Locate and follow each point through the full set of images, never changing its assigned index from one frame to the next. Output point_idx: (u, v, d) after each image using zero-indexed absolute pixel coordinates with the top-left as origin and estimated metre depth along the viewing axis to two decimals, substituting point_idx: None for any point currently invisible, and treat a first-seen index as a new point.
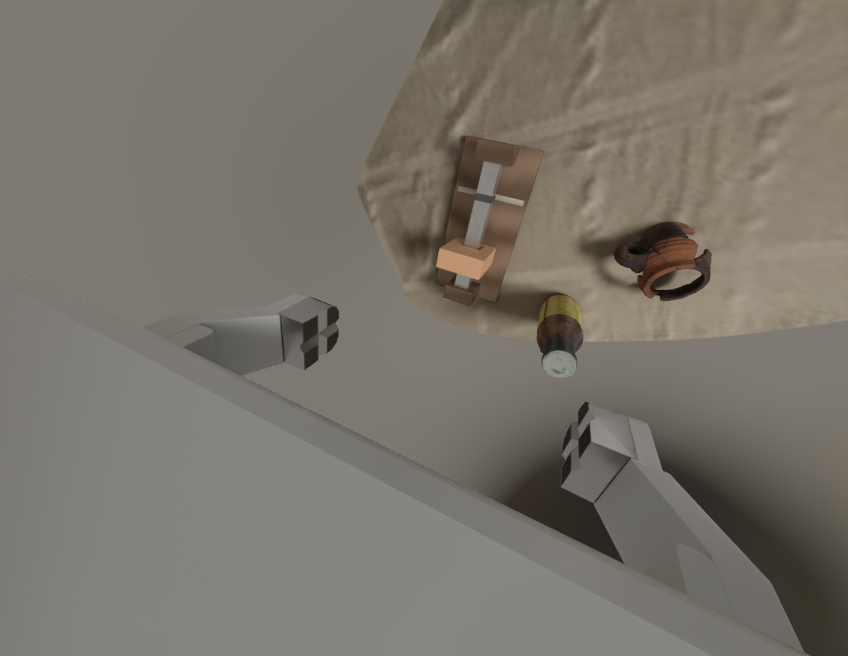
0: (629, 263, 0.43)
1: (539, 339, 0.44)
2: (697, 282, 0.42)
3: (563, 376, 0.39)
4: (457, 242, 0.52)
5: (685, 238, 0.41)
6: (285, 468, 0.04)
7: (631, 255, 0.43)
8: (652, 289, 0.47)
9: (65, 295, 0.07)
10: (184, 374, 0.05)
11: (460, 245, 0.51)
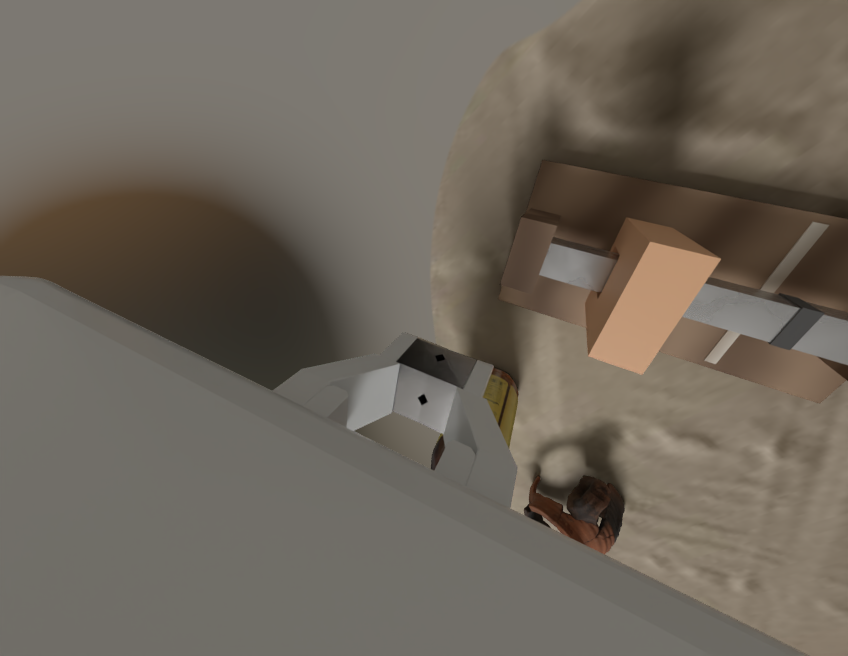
0: (585, 511, 0.31)
1: None
2: None
3: None
4: None
5: None
6: (285, 468, 0.04)
7: (598, 515, 0.30)
8: None
9: (66, 295, 0.07)
10: (185, 374, 0.05)
11: None
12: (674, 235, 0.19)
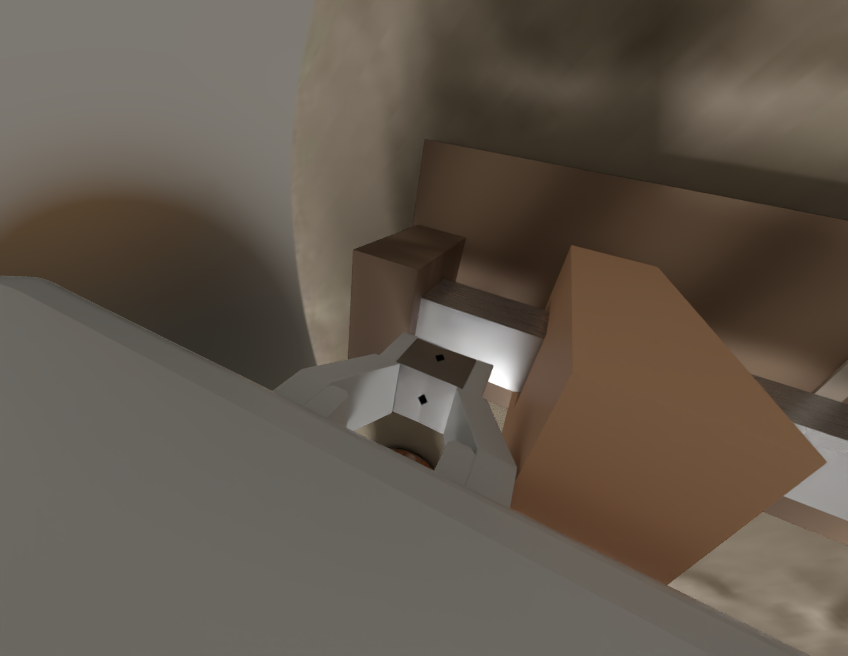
0: None
1: None
2: None
3: None
4: None
5: None
6: (285, 468, 0.04)
7: None
8: None
9: (66, 295, 0.07)
10: (184, 374, 0.05)
11: None
12: (659, 301, 0.08)
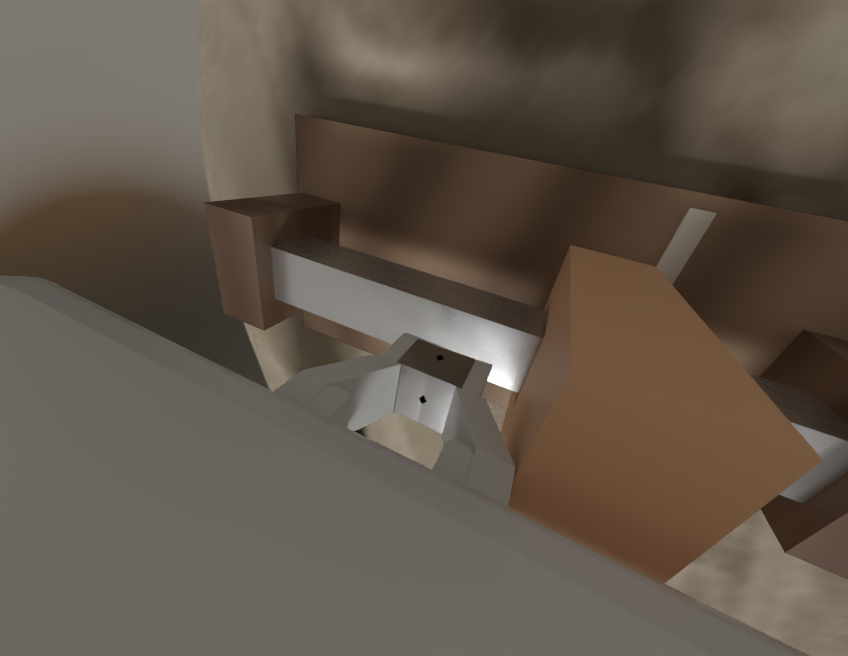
0: None
1: None
2: None
3: None
4: None
5: None
6: (285, 468, 0.04)
7: None
8: None
9: (66, 295, 0.07)
10: (184, 374, 0.05)
11: None
12: (657, 301, 0.08)
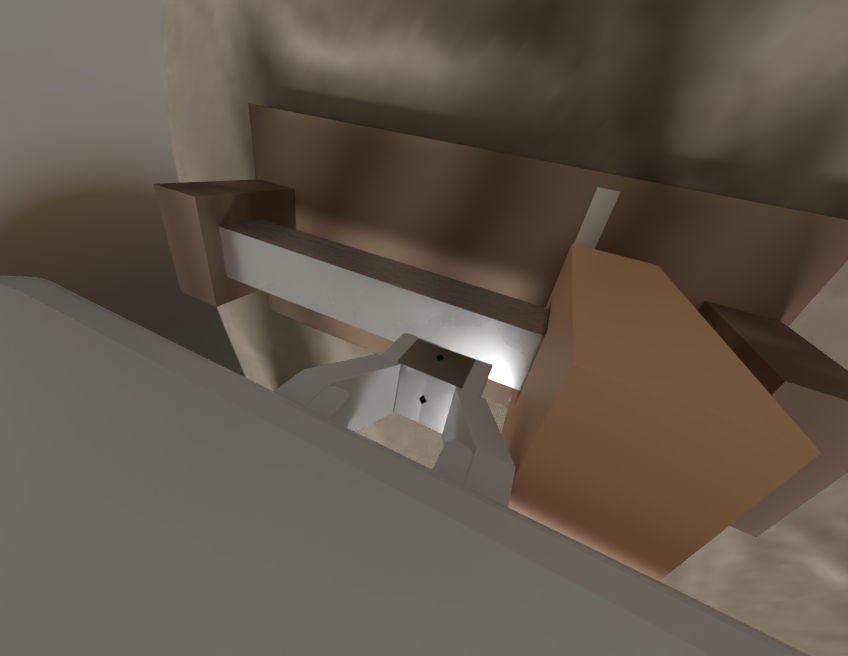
0: None
1: None
2: None
3: None
4: None
5: None
6: (285, 468, 0.04)
7: None
8: None
9: (66, 295, 0.07)
10: (184, 374, 0.05)
11: None
12: (658, 298, 0.08)
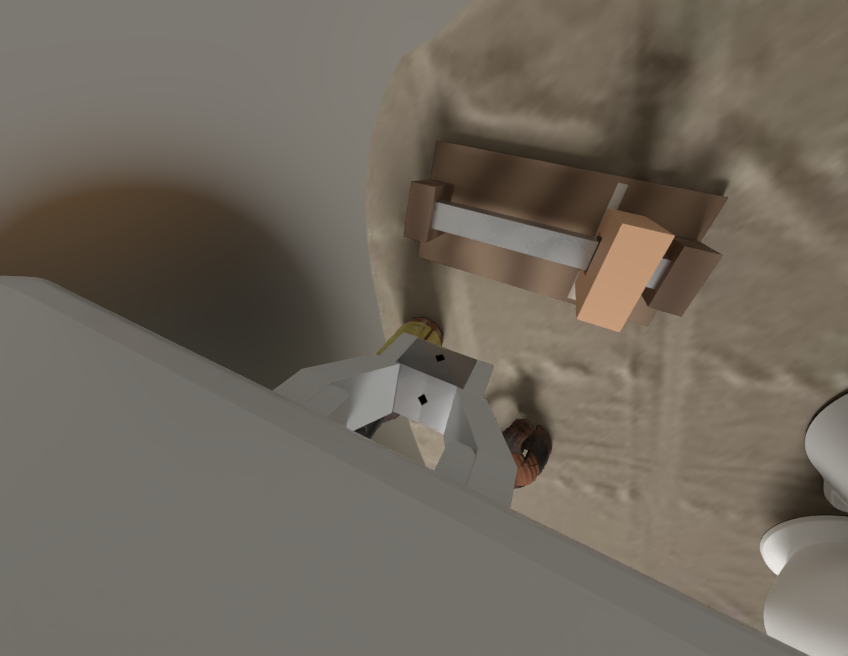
0: (510, 442, 0.38)
1: None
2: None
3: None
4: None
5: None
6: (285, 468, 0.04)
7: (520, 444, 0.37)
8: None
9: (65, 295, 0.07)
10: (185, 374, 0.05)
11: None
12: (644, 221, 0.23)
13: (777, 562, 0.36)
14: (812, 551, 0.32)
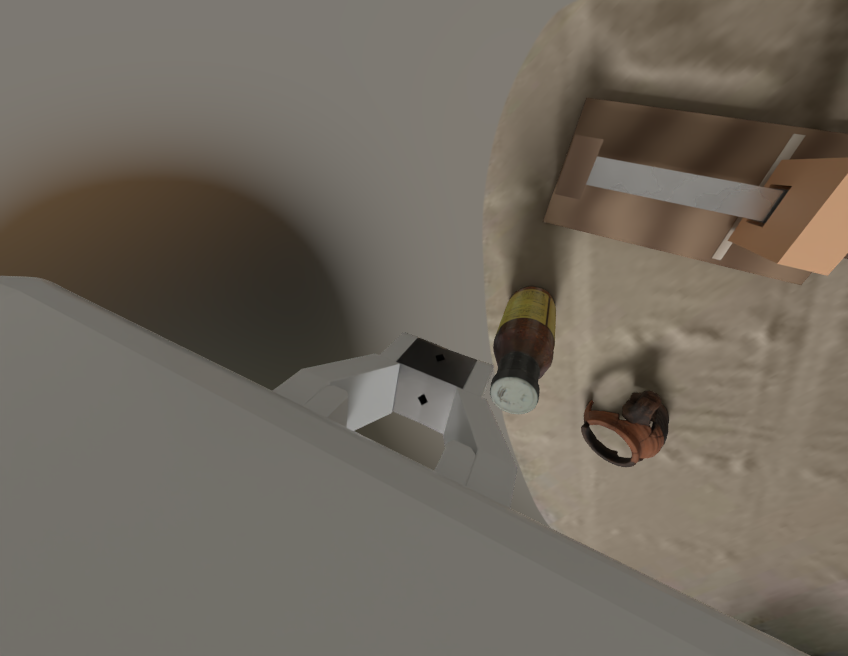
0: (640, 413, 0.37)
1: (525, 336, 0.30)
2: (604, 451, 0.43)
3: (494, 399, 0.27)
4: None
5: (660, 447, 0.39)
6: (285, 468, 0.04)
7: (651, 414, 0.37)
8: None
9: (66, 295, 0.07)
10: (184, 374, 0.05)
11: None
12: None
13: None
14: None
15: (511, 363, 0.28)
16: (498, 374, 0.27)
